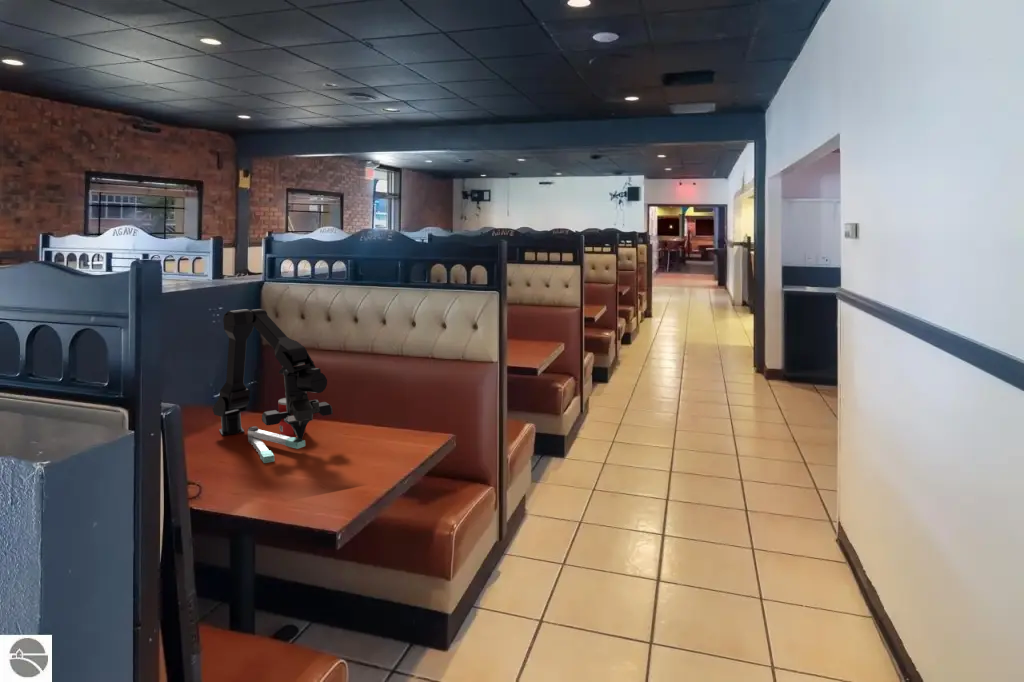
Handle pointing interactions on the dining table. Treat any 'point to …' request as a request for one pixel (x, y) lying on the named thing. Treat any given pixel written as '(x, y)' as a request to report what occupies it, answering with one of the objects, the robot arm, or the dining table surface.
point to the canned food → (284, 427)
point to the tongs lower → (262, 450)
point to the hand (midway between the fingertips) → (300, 441)
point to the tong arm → (276, 438)
